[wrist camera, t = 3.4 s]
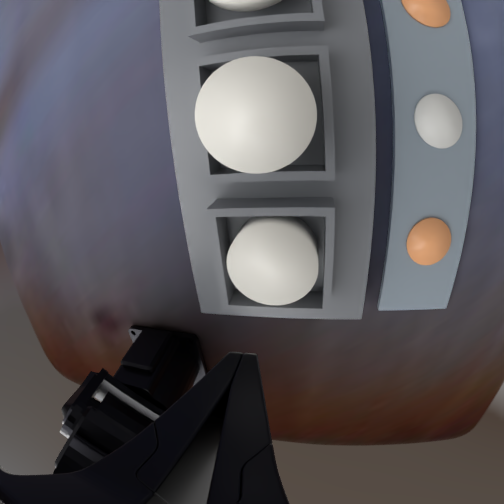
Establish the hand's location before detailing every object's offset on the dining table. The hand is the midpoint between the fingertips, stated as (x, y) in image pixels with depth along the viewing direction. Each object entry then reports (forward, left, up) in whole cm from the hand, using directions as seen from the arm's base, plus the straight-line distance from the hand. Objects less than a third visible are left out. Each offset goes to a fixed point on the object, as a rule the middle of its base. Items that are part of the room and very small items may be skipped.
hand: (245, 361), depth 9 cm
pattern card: (+7, -9, -10) cm, 15 cm away
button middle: (+7, 0, -6) cm, 9 cm away
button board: (+7, 0, -10) cm, 12 cm away
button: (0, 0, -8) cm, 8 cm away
